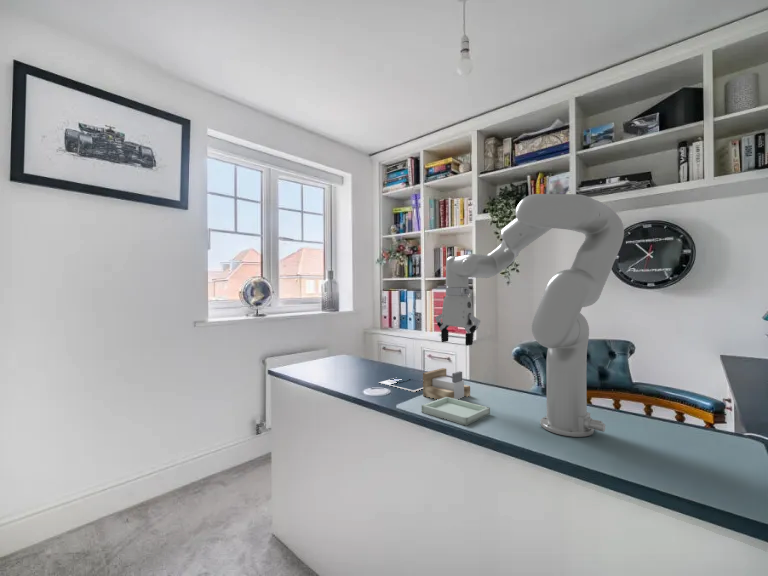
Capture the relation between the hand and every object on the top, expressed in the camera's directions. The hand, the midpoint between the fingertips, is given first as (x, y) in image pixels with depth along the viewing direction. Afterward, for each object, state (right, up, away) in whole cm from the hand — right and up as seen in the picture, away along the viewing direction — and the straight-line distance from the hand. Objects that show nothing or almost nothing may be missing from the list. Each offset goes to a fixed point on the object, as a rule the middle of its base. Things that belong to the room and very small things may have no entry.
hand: (456, 343), depth 123 cm
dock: (-2, -19, +2) cm, 19 cm away
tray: (-3, -19, -15) cm, 24 cm away
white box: (-2, -19, +2) cm, 19 cm away
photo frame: (-15, -20, +19) cm, 31 cm away
